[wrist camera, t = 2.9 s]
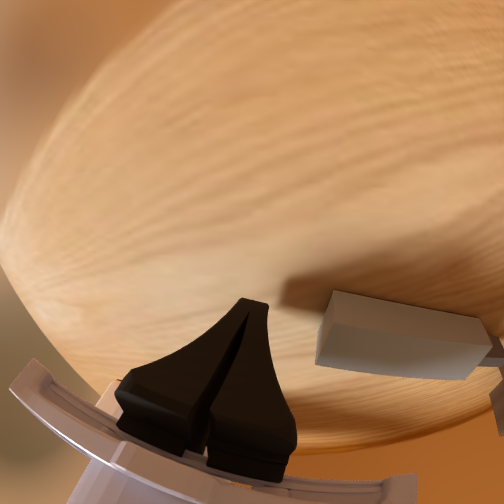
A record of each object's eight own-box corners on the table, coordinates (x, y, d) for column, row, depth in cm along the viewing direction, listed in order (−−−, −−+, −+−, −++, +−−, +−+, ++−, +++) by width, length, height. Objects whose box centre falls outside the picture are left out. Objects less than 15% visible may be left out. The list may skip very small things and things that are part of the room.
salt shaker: (153, 403, 26) (118, 467, 18) (129, 396, 27) (94, 454, 19) (136, 383, 24) (94, 451, 16) (112, 376, 26) (72, 437, 17)
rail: (318, 331, 14) (314, 364, 12) (333, 289, 13) (333, 322, 11) (482, 354, 12) (492, 379, 10) (505, 322, 11) (518, 347, 9)
